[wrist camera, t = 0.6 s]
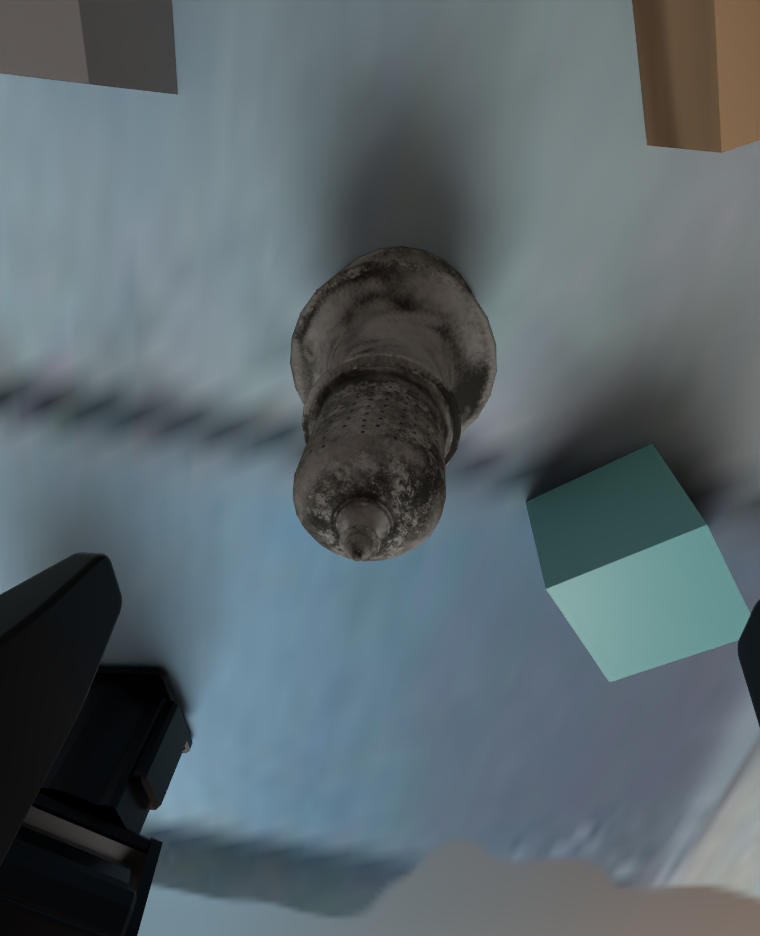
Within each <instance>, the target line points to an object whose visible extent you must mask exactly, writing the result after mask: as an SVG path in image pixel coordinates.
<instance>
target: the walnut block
mask: <svg viewBox="0 0 760 936" xmlns="http://www.w3.org/2000/svg"><path fill="white" fill-rule="evenodd" d="M632 3H633V12H634V22H635V32H636V42H637V51H638V61H639V71H640V81H641V90H642V100H643V110H644V120H645V129H646V139H647V145H650V146H660V147H670V148H680V149H690V150H701V151H711V152H721V153H722V152H725V151H728V150H731V149H734V148H737V147H739V146H742V145H745V144H748V143H751V142H754V141H757V140H760V0H632Z"/></svg>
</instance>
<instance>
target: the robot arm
mask: <svg viewBox="0 0 760 936" xmlns="http://www.w3.org/2000/svg"><path fill="white" fill-rule="evenodd" d="M121 605H122V597H121V592H120V589H119V586H118V583H117V579H116V576H115V573H114V570H113V567H112V563H111V561H110V559H109V558H108V557H107V556H106V555H104V554H99V553H84V552H82V553H76V554H73V555H71V556H70V557H68V558H66V559H64V560H62V561H60V562H59V563H57V564H55V565H53V566H51V567H50V568H48V569H46V570H44V571H42V572H41V573H39V574H37V575H35V576H33V577H31V578H30V579H28V580H26V581H24V582H22V583H21V584H19V585H17V586H15V587H13V588H12V589H10V590H8V591H6V592H4V593H2V594H1V595H0V936H137V934H138V930H139V927H140V923H141V919H142V916H143V912H144V909H145V905H146V901H147V898H148V894H149V890H150V887H151V883H152V879H153V876H154V872H155V868H156V865H157V861H158V857H159V854H160V850H161V846H162V841H160V840H158V839H155V838H153V837H151V838H150V839H149V838H147V837H145V836H142V835H140V832H141V829H142V827H143V824H144V822H145V820H146V817H147V815H148V813H149V810H156V809H157V808H158V807H159V806H160V805H161V804H162V801H163V799H164V796H165V794H166V791H167V789H168V786H169V784H170V781H171V779H172V776H173V774H174V772H175V769H176V767H177V764H178V762H179V759H180V757H181V754H182V753H187V752H189V750H190V748H191V745H192V740H191V737H190V734H189V731H188V728H187V725H186V723H185V720H184V717H183V715H182V712H181V709H180V707H179V705H178V703H177V700H176V697H175V695H174V692H173V689H172V687H171V684H170V681H169V679H168V676H167V674H166V672H165V671H164V670H162V669H160V668H156V667H114V666H99V664H100V662H101V659H102V656H103V654H104V651H105V649H106V646H107V644H108V641H109V639H110V636H111V634H112V631H113V629H114V626H115V624H116V621H117V618H118V616H119V613H120V610H121ZM738 656H739V660H740V664H741V667H742V670H743V673H744V677H745V680H746V683H747V687H748V690H749V693H750V697H751V700H752V703H753V706H754V710H755V713H756V716H757V720H758V723H759V726H760V600H759V601H758V602H757V603H756V604H755V606H754V608H753V610H752V612H751V615H750V617H749V619H748V621H747V623H746V625H745V627H744V629H743V632H742V634H741V636H740V638H739V642H738Z"/></svg>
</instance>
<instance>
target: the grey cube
mask: <svg viewBox="0 0 760 936" xmlns="http://www.w3.org/2000/svg"><path fill="white" fill-rule="evenodd" d="M0 73H3V74H11V75H19V76H27V77H35V78H43V79H52V80H60V81H68V82H76V83H84V84H93V85H101V86H110V87H118V88H127V89H136V90H144V91H153V92H161V93H170V94H178V89H177V74H176V58H175V43H174V28H173V12H172V0H0Z"/></svg>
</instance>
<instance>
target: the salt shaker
mask: <svg viewBox="0 0 760 936" xmlns="http://www.w3.org/2000/svg"><path fill="white" fill-rule="evenodd" d="M290 364H291V369H292V374H293V379H294V384H295V388H296V390H297V392H298V394H299V396H300V398H301V400H302V402H303V404H304V409H303V420H302V427H303V432H304V436H305V441H306V444H307V445H306V447H305V450H304V452H303V455H302V457H301V460H300V462H299V464H298V467H297V469H296V472H295V474H294V486H293V501H294V505H295V510H296V514H297V516H298V518H299V520H300V521H301V523H302V525H303V527H304V529H305V530H306V531H307V532H308V533H309V534H310V535H311V536H312V537H313V538H314V539H315V540H316V541H317V542H318V543H319V544H321V545H322V546H324V547H325V548H327V549H328V550H330V551H332V552H333V553H335V554H338V555H341V556H343V557H346V558H349V559H353V560H354V561H380V560H385V559H389V558H393V557H397V556H400V555H402V554H404V553H406V552H408V551H410V550H412V549H414V548H416V547H418V546H419V545H420V544H421V543H422V542H423V541H425V540H426V539H427V538H428V537H429V536H430V535H431V533H432V532H433V530H434V529H435V527H436V525H437V524H438V522H439V520H440V517H441V515H442V511H443V507H444V503H445V499H446V485H445V467H446V466H447V465H448V463H449V462H450V460H451V458H452V457H453V455H454V453H455V452H456V450H457V447H458V443H459V439H460V435H461V434H462V433H463V432H464V431H465V430H466V429H467V428H468V427H469V426H470V425H471V424H472V423H473V422H474V421H475V420H476V419H477V418H478V416H479V414H480V413H481V411H482V409H483V407H484V406H485V404H486V402H487V401H488V399H489V397H490V395H491V391H492V387H493V383H494V379H495V375H496V372H497V367H496V343H495V340H494V337H493V333H492V330H491V327H490V324H489V321H488V318H487V316H486V315H485V313H484V312H483V310H482V308H481V307H480V305H479V304H478V302H477V301H476V299H475V298H474V296H473V295H472V293H471V291H470V289H469V288H468V286H467V285H466V283H465V282H464V280H463V279H462V277H461V275H460V274H459V273H458V272H457V271H456V270H455V269H453V268H452V267H451V266H450V265H449V264H448V263H446V262H445V261H444V260H443V259H441V258H439V257H437V256H435V255H432V254H430V253H428V252H426V251H424V250H419V249H413V248H407V247H393V248H384V249H378V250H376V251H373V252H371V253H369V254H366V255H364V256H361V257H359V258H358V259H357V260H355V261H354V262H353V263H352V264H350V265H349V266H348V267H346V268H345V269H344V270H343V271H341V272H339V273H338V274H336V275H335V276H334V277H333V278H331V279H330V280H329V281H327V282H326V283H325V284H324V285H322V286H321V287H320V288H319V289H317V290H316V292H315V293H314V295H313V296H312V297H311V299H310V300H309V302H308V303H307V304H306V306H305V307H304V309H303V310H302V311H301V313H300V316H299V319H298V321H297V324H296V327H295V330H294V333H293V336H292V343H291V359H290Z"/></svg>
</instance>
